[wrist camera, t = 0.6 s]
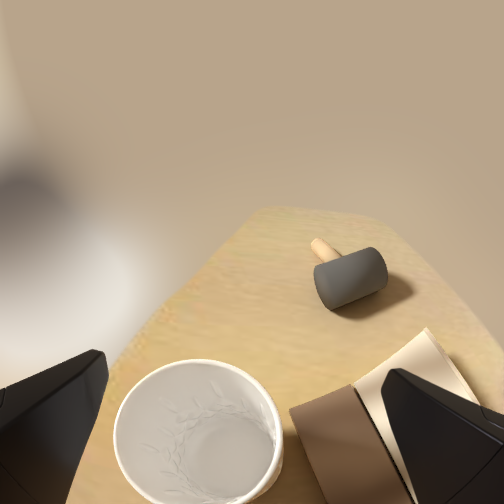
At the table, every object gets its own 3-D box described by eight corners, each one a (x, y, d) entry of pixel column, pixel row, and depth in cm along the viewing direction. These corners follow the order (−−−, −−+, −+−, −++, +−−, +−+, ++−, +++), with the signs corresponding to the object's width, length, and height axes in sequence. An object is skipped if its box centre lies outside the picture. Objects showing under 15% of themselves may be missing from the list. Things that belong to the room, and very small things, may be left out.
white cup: (182, 422, 19) (118, 367, 13) (278, 407, 19) (263, 344, 13) (191, 509, 13) (114, 507, 6) (300, 496, 13) (301, 503, 7)
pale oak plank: (528, 508, 2) (532, 513, 1) (446, 562, 4) (445, 569, 3) (427, 332, 18) (426, 326, 17) (357, 385, 19) (352, 382, 18)
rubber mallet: (385, 296, 25) (389, 260, 23) (334, 318, 24) (333, 281, 22) (337, 251, 34) (335, 219, 32) (294, 265, 33) (289, 233, 31)
